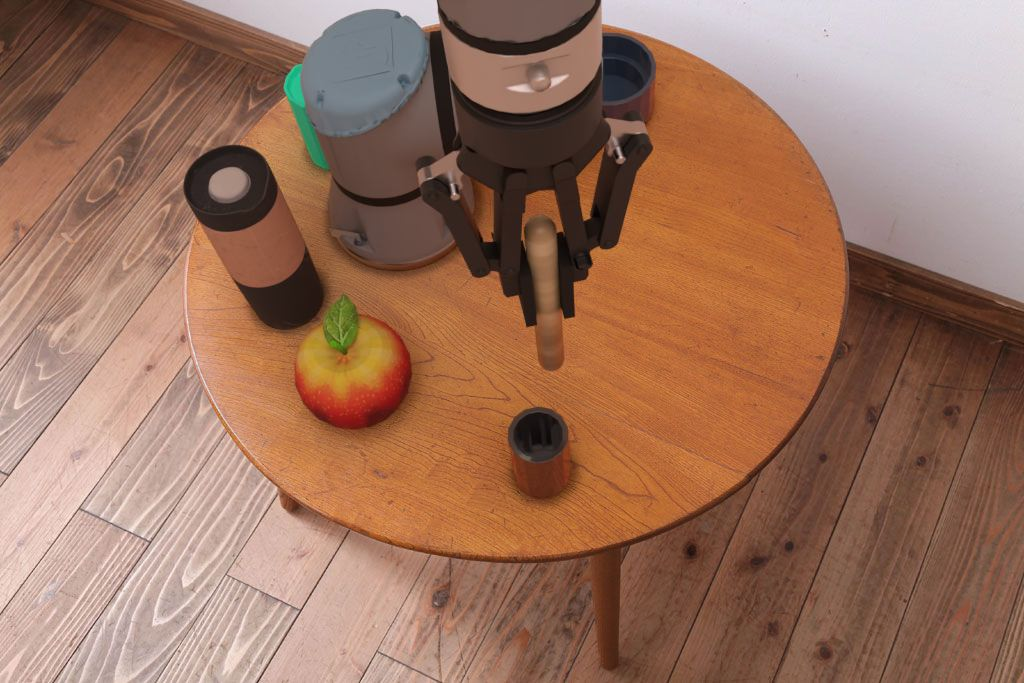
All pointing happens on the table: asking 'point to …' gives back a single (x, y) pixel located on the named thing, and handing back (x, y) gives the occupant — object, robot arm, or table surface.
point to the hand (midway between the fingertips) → (546, 305)
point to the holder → (540, 452)
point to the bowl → (627, 76)
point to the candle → (303, 116)
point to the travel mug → (254, 234)
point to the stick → (545, 290)
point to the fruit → (352, 368)
